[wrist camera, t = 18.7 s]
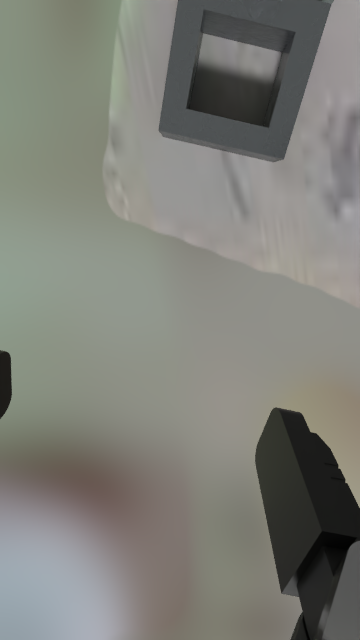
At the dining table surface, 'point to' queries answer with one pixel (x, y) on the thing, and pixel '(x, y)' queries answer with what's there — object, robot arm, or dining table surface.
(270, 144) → the metal collar
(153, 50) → the dining table surface
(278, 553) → the robot arm
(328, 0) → the grey-green rectangular panel
